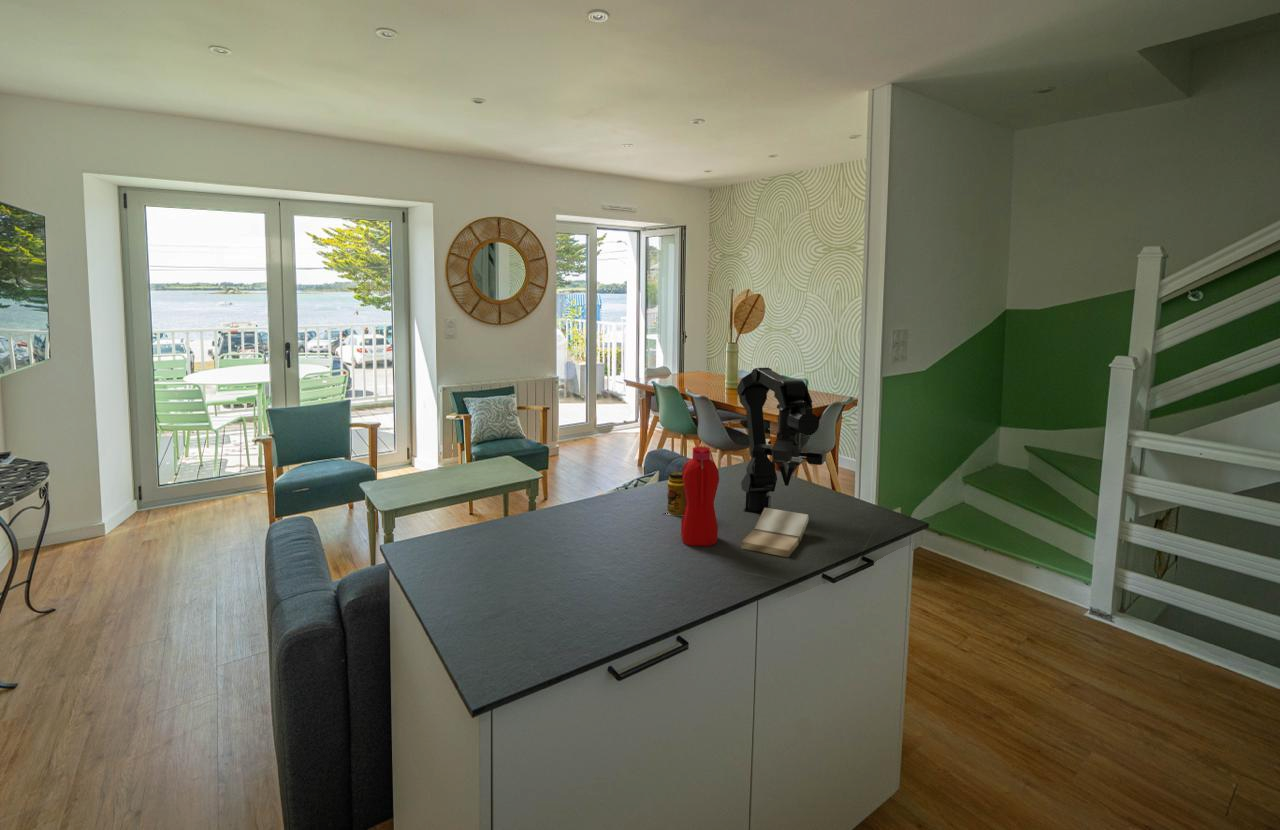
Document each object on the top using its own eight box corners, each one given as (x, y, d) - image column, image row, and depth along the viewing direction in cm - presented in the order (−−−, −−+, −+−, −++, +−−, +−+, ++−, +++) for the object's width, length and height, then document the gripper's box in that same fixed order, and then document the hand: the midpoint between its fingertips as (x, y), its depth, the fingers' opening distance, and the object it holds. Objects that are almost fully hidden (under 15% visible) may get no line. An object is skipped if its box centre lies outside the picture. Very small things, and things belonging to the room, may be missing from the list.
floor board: (741, 549, 164) (741, 541, 164) (753, 536, 173) (754, 529, 172) (788, 558, 158) (788, 550, 158) (798, 544, 167) (799, 537, 167)
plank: (755, 534, 173) (754, 528, 172) (765, 513, 180) (764, 507, 179) (800, 542, 168) (799, 536, 167) (808, 520, 174) (808, 514, 174)
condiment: (662, 514, 190) (663, 474, 188) (671, 505, 198) (672, 467, 195) (686, 517, 187) (687, 477, 185) (694, 508, 195) (695, 469, 193)
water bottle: (682, 550, 163) (684, 453, 158) (680, 534, 174) (682, 443, 169) (719, 550, 163) (722, 453, 158) (714, 535, 174) (717, 443, 169)
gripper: (745, 429, 168) (743, 488, 171) (818, 436, 160) (815, 498, 162) (758, 422, 178) (756, 478, 181) (828, 429, 170) (824, 487, 172)
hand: (786, 485), depth 174 cm, fingers closed
